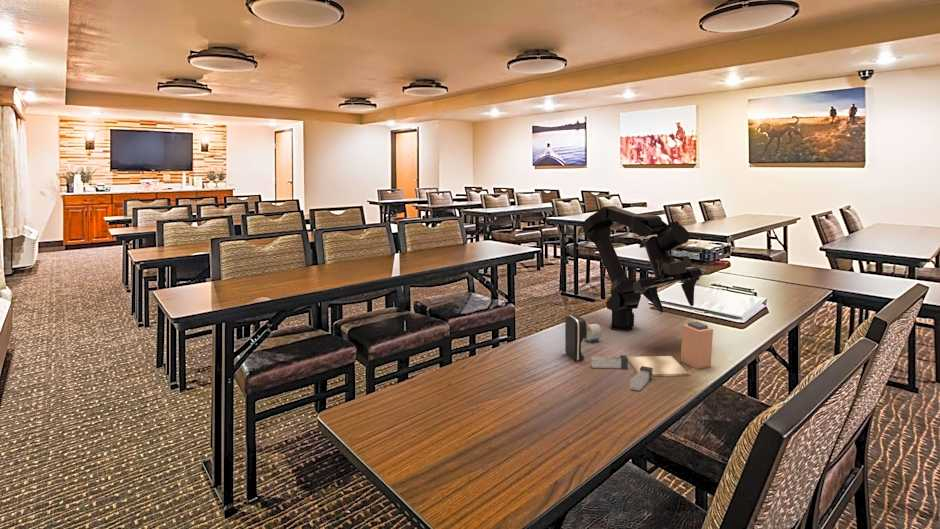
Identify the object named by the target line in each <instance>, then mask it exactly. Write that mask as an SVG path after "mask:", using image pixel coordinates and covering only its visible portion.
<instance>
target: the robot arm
mask: <svg viewBox="0 0 940 529" xmlns="http://www.w3.org/2000/svg"><path fill="white" fill-rule="evenodd" d="M614 223H617V224H620V225H623V226H625V227H627V228H630V229H631V232H632V233H634V234H636V235H637V236H638V237H646V238H642V239H641V242H640V244H639V248H640V249H643V248H644V249H645V251H646V254H647V256H648V260H649V262H650V263H649V264H648V266H649V269H650V268H651V269H652V271H653V274H654V277H652V276H647V277H641V278H639V279H637V280H636V279H635V278H631V279H630V278H629V277H628V276H627V275H626V272H625V270H624V268H623V265H622V263H621V261H620V258H619V256H618V254H617V252H616V250H615V247H614V245H613V242H612V241H611V234H612V229H611V228H612V226H613V225H614ZM581 228H582V231H583V233H584V234H585V237H586V238H587V240H589V241H590V242H591V243H593V244H594V246H595V247H596V250H597V252H598V253H599V254H598V255H599V257H600V259H601V262H602V263H603V265H604V268H605V270H606V273H607V275H608V277H609V281H610V282H611V286H610V291H609V292H610V295H611V296H610V297H609V298H608V299H607V300H606V302H605V305H606V309H607V310H610V311H611V324H610V325H611V326H610V329H611V330H617V331H618V330H622V331H633V328H634V327H635V313H634V312H633V310H634V309H638V308H639V305H640V301H641V299H642V295H643V297H645V298H646V300H647V299H648V301H649V302H650V303H651V304H652V305H653V306H654V307H655V308H656V309H657V311H659V312H660V313H664V308H663V307H664V306H663V305H662V302H661V299H660V296H659V293H658V286H659V285H663V284H669V283H674V282H678V281H680V282H682V283H681V284H680V286H681V288H682V291H683V293H684V295H685V297H686V300H687V302H688V304H689V305H690V307H693V306H694V305H695V296H694V295H695V286H696V283H697V282H698V281H699V280H700V278H702V277H703V276H704V274H703V272H702V269H701V268H699V267H698V266H695V267H692V261H691V258H690V256H689V255H683V256H680V257H679V259H675V257H674V255H671V254H670V251H671V252H672V251H674V250H675V249H677V248H679V247H681V246H683V245H685V244H687V243H688V242H689V239H690V234H689V231H688V230H687V229H686V228H685V227H684V226H683V225H681V224H680V223H679V221H677V220H676V221H671V222H669V223H668V224H667V223H666V222H665V221H663V220H662V217H661V216H659V215H653V214H637V213H634V212H632V211H628V210H625V209H622V208H619V207H617V206H614V205H607V206H606V205H605V206H603V207H601V208H599V210H598V211H596V212H595V213H593V214H591V215H589V216H588V217H587V218H586V219H585V220H584V221H583V224H582V227H581ZM649 236H650V237H649ZM691 267H692V268H691Z"/></svg>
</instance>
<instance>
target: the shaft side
mask: <svg viewBox="0 0 940 529" xmlns="http://www.w3.org/2000/svg"><path fill="white" fill-rule="evenodd" d="M627 357H628V356H627V355H626V354H625V355H623V354H622V355H619V356H590V366H591V368H592V369H622V370H623V369H628V366H629V364H628V363H629V362H628V358H627Z"/></svg>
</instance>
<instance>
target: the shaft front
mask: <svg viewBox="0 0 940 529" xmlns="http://www.w3.org/2000/svg"><path fill="white" fill-rule="evenodd" d="M652 374H653V368H650V367H645V366H642V367H641V368H640V371H639V372H638V373H637V372H636V374H635V375H634V376H633V377H632V378H630V380H629V381H630V383H629V384H630V385H629V389H630V390H634V391H638V392H640V391H641V390H642V389H643V388H644V387H645V385H646V384H648V382H649V381H652V379H653V376H652Z"/></svg>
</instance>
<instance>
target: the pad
mask: <svg viewBox="0 0 940 529" xmlns="http://www.w3.org/2000/svg"><path fill="white" fill-rule="evenodd" d="M627 358H628V363H629V365H630V366H631V367H632V368H633V370H634V371H635V373H636V374H637V373H638V372H639V371H640V368H641V367H642V366H645V367H650V368H653V374H652V377H687V376H689V375H690V374H689V372H688V371H687V370H686V369H685V368H683V366H682V364H680V363H679V362H678V361H677V360H676V359H675V358H674V357H673V356H672V355H661V356H660V355H656V356H653V355H652V356H646V355H645V356H627Z"/></svg>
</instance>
